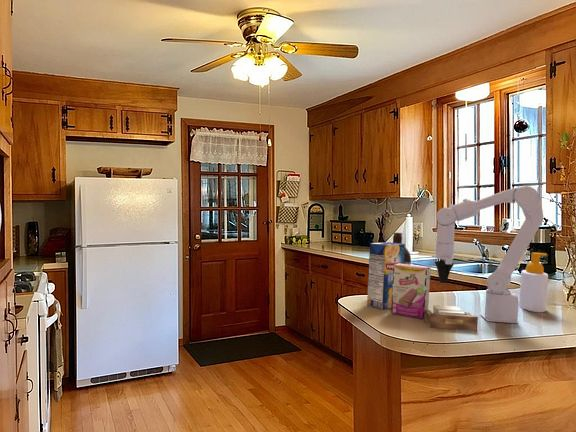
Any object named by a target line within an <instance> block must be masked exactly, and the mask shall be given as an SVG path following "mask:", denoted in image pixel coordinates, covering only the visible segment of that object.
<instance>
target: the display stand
mask: <svg viewBox="0 0 576 432" xmlns="http://www.w3.org/2000/svg"><path fill="white" fill-rule="evenodd" d="M463 312H464V311H463ZM464 313H465V315H455V314H440V313H433V311H431V309H428V310H425V319H424V321H425V322H426V323H427V326H429V327H430V328H436V329H448V330H449V329H450V330H451V329H452V330H463V331H475V332H476V331H478V321H479V320H478V319H479V317H478V316H477V315H472V314H471V313H470V312H464Z"/></svg>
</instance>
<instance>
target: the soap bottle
mask: <svg viewBox="0 0 576 432" xmlns="http://www.w3.org/2000/svg"><path fill="white" fill-rule="evenodd" d="M547 255H548V254H547V253H543V252H531V259H530V260H531V261H530V262H529V263H527V264H526V267H525V269H522V270H521V273H520V286H519V287H520V288H519V300H518V301H519V307H520V308H521V309H524V310H526V311H529V312H534V313H544V312H546V310H547V301H548V285H549V284H548V282H549V275H548V273H546V272H544V271H545V270H544V269H545V268H544V266H543V264H542V263H541V262H540V260H541V259H540V258H541V257H547Z"/></svg>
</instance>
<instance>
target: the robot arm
mask: <svg viewBox="0 0 576 432" xmlns="http://www.w3.org/2000/svg"><path fill="white" fill-rule="evenodd" d="M503 203H508V204H517V205H518V206H519V207H520V209H521V210H522V213H523V215H524V218H525V220H524V221H523V223H522V225H521V226H520V228H519V229H518V231H517V234H516V235H515V237H514V239H513V240H512V243H510V245H509V247H508V250H507V251H506V253H505V255H504V256H503V258H502V260H501V262H500V263H499V264H498V266H497V268H496V269H495V271H493V272H492V273H491V274H489V276H488V277H487V278H486V287H487V289H486V290H485V303H484V304H485V305H484V306H485V307H484V313H481V314H480V316H481V317H482V318H483V319H484V320H486V322H494V323H509V324H519V321H518V320H519V307H520V305H519V301H520V300H519V297H518V294H516V293H511V290H510V289H509V288H508V287H509V286H510V285H511V282H512V280H511V277H512V274H513V273H514V271H515V269H516V268H517V265H518V264H519V262H520V261H521V259H522V257H523V255H524V253H525V252H526V251H527V249H528V247H529V245H530V243H531V242H532V240H533V238H534V236H535V235H536V233H537V232H538V230H539V228H540V226H541V225H542V223H543V221H544V218H545V217H544V210H543V204H542V198H541V196H540V195H539V193H538V191H537V190H536V188H533V187H532V186H529V185H523V186H520V187H518V188H517V187H514V188H510V189H506V190H502V191H499V192H498V193H494V194H492V195H489V196H487V197H484V198H482V199H479V200H475V199H471V198H470V199H468V198H465V199H463V200H462V201H461V202H458V203H455V204H452V203H451V204H449V205H448V206H449V207H442V208H439V210H438V211H437V212H436V215H435V218H436V222H437V229H436V239H435V241H436V245H435V254H432V255H431V257H432V258H434V259H438V261H437V260H434V264H435V266H436V269H437V274H438V276H437V277H438V281H439V283H441V284H443V283H444V284H446V283H447V282H448V279H449V276H450V273H451V271H452V268H453V267H454V265H455V264H454V263H453V260H454V259H455V256H454V248H455V223H456V222H460V221H461V222H462V221H463V220H466V219H469V218H473V217H476V216H478V214H479V213H480V210H484V209H487V208H491V207H493V206H497V205H500V204H503Z"/></svg>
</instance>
